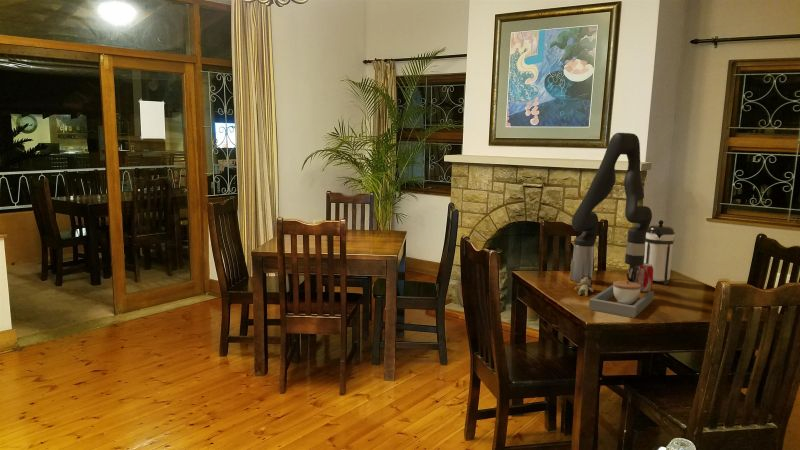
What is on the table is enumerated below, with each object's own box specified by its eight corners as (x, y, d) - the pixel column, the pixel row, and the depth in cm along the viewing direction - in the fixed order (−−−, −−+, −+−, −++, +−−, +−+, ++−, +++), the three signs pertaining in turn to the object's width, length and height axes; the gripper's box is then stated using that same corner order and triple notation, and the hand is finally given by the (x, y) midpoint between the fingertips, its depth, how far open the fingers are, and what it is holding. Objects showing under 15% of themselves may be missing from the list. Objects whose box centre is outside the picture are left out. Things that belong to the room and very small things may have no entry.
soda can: (653, 292, 255) (655, 266, 253) (636, 291, 256) (638, 265, 254) (649, 289, 262) (652, 263, 260) (633, 287, 263) (635, 262, 261)
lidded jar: (606, 299, 241) (608, 277, 240) (627, 298, 244) (629, 276, 243) (623, 306, 231) (625, 283, 230) (645, 304, 234) (647, 282, 233)
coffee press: (681, 284, 272) (687, 222, 268) (652, 285, 268) (658, 222, 264) (656, 276, 289) (662, 217, 285) (629, 277, 285) (634, 217, 281)
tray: (588, 309, 225) (589, 299, 225) (611, 293, 251) (612, 284, 251) (634, 317, 215) (635, 307, 215) (653, 300, 242) (654, 291, 241)
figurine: (573, 286, 247) (577, 272, 260) (572, 299, 249) (577, 285, 262) (592, 288, 244) (596, 274, 256) (591, 302, 246) (595, 287, 259)
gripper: (629, 249, 250) (626, 288, 252) (622, 254, 239) (618, 294, 242) (648, 252, 246) (644, 291, 248) (641, 256, 235) (637, 297, 237)
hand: (631, 292), depth 245 cm, fingers closed
